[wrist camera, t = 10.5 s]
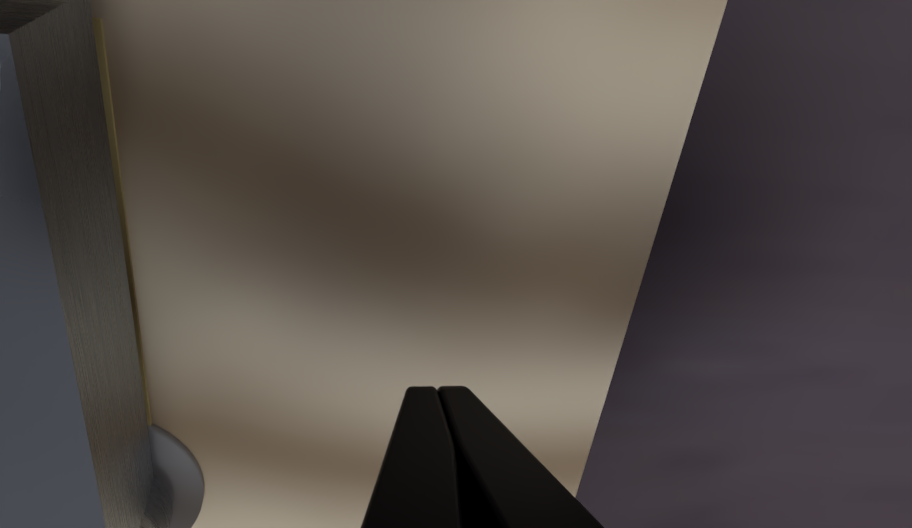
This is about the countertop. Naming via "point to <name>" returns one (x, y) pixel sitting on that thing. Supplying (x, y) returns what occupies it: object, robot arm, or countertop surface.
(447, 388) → the robot arm
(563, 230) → the board
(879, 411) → the countertop surface
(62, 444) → the latch bar
